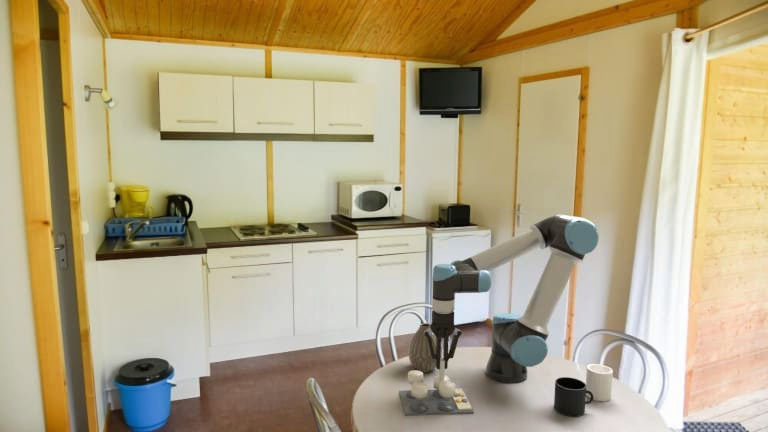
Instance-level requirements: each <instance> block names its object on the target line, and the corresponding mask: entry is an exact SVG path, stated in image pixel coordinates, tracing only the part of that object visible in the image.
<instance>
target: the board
mask: <svg viewBox="0 0 768 432" xmlns="http://www.w3.org/2000/svg"><path fill="white" fill-rule="evenodd" d="M399 396H400V400H401V403H402V404H401V405H402V408H403V412H404V413H403V414H404V416H409V417H410V416H427V415H428V416H433V415H434V416H435V415H436V416H437V415H439V416H440V415H463V414H464V415H465V414H474V410H473V408H472V405H471V404H470V402H469V400H468V397H467V396H466V394H465V392H464V390H463V388H455V395H454V396H453V397H451V400H450V401H444V400H443V396H441V395H440V394H439V393H438V389H428V395H427V397H425V398H423V401H422V402H417V401H416V398H415V397H413V396H412V395H411V390H410V389H409V390H399Z"/></svg>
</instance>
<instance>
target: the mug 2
mask: <svg viewBox="0 0 768 432" xmlns="http://www.w3.org/2000/svg"><path fill="white" fill-rule="evenodd" d="M613 373H614V370H613V369H612V368H611V367H609V366H607V365H604V364H601V363H600V364H598V363H592V364H591V363H588V364H587V365H586V375H585V376H586V378H585V384H586V390H588V391H590V392H592V394H593V400H594V401H596V402H609V401H610V400H611V399H612V389H613V375H614V374H613ZM586 397H587V398H589V399H590V398H591V396H590V394H588V393H586Z"/></svg>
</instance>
